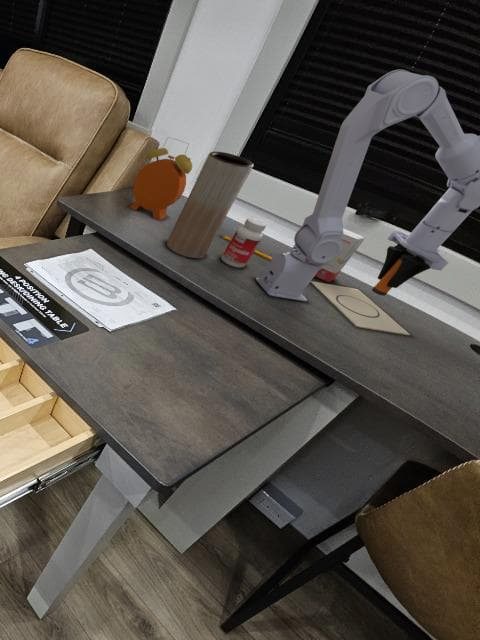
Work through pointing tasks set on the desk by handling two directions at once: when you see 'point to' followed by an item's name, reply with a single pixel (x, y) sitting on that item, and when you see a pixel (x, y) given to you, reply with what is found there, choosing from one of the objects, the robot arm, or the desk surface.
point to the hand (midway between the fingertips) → (386, 283)
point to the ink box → (341, 256)
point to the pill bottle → (244, 243)
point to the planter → (208, 203)
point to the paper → (359, 308)
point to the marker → (388, 278)
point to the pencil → (254, 251)
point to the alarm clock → (160, 182)
